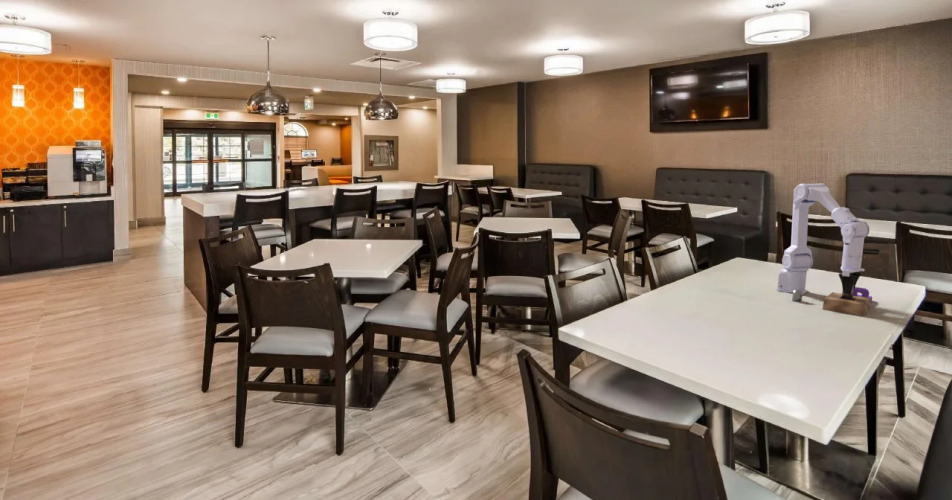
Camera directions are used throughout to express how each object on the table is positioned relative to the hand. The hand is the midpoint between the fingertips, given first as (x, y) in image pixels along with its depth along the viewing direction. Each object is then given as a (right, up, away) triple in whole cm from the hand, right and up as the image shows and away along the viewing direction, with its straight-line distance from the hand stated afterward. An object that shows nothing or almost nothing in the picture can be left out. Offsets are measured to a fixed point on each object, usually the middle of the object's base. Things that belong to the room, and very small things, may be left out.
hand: (848, 292), depth 198 cm
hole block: (0, -6, +1) cm, 6 cm away
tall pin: (0, -2, +1) cm, 3 cm away
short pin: (-11, -4, +12) cm, 17 cm away
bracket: (+10, -5, +10) cm, 15 cm away
